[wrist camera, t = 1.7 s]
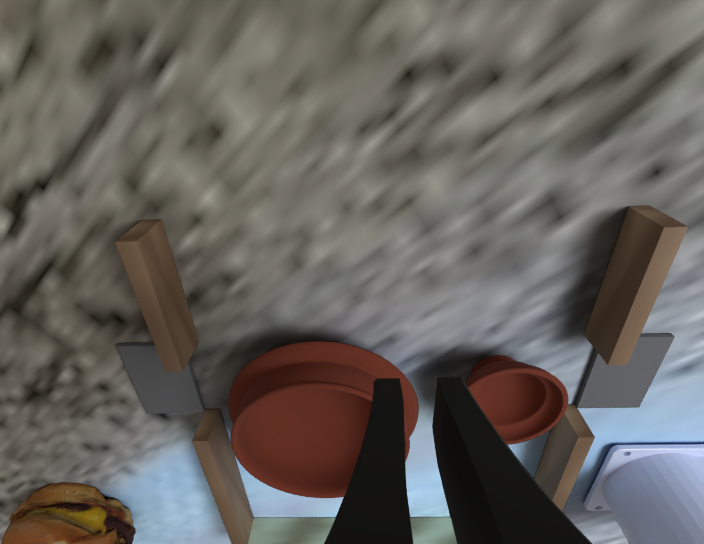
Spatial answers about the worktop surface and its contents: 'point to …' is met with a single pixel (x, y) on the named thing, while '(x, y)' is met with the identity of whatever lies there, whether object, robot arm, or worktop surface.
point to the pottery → (358, 410)
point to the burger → (70, 518)
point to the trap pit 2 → (624, 375)
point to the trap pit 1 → (160, 381)
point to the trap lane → (428, 532)
